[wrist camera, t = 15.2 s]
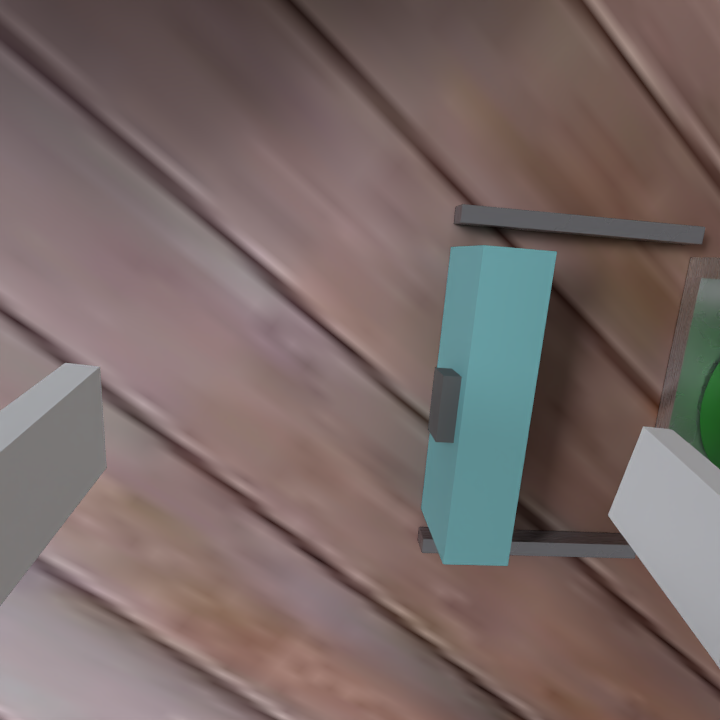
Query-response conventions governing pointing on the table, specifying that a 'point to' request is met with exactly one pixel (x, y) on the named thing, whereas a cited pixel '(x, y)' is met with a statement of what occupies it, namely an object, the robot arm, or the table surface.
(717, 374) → the motor
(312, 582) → the table surface
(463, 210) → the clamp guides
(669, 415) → the tray
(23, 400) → the robot arm
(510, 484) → the bar
